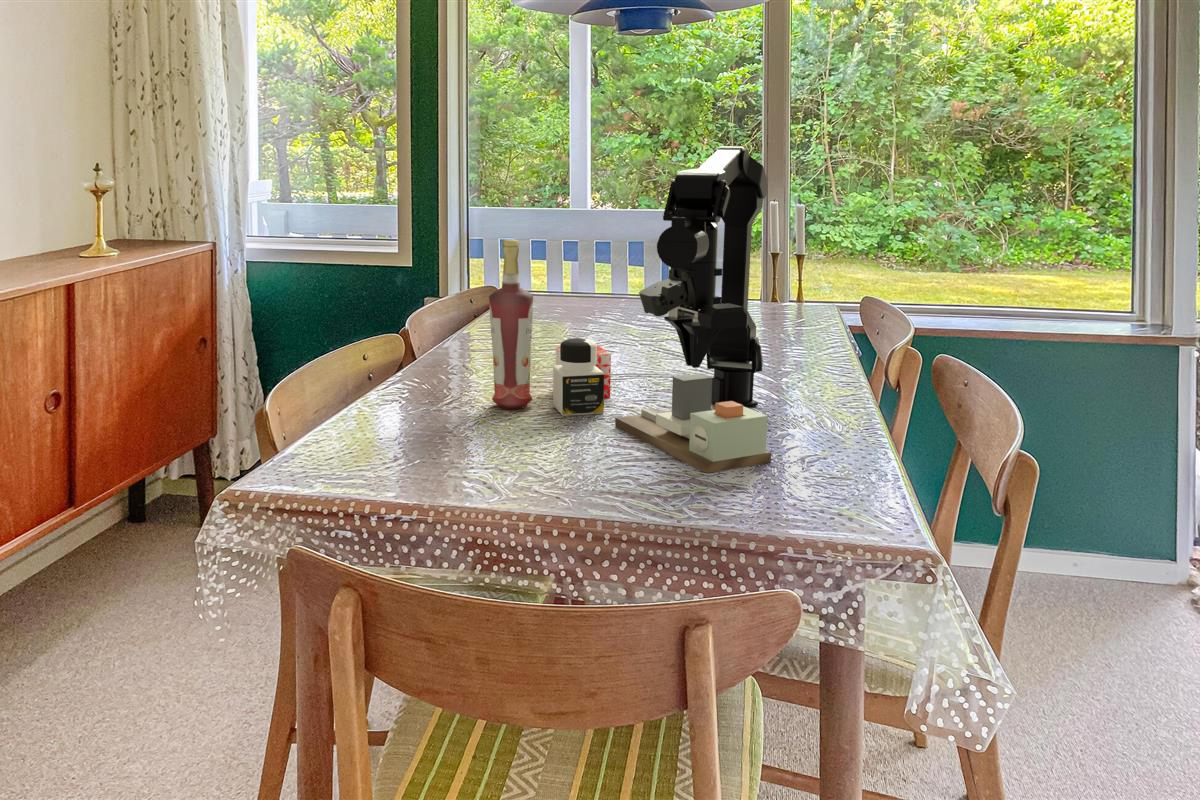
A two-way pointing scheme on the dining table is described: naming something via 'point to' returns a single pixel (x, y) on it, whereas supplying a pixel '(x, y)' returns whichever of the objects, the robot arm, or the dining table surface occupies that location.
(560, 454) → the dining table surface
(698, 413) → the cabinet
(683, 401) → the carriage
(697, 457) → the rail track
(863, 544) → the dining table surface
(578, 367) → the medicine bottle
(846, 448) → the dining table surface
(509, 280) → the liquor
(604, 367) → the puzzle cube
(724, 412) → the button
